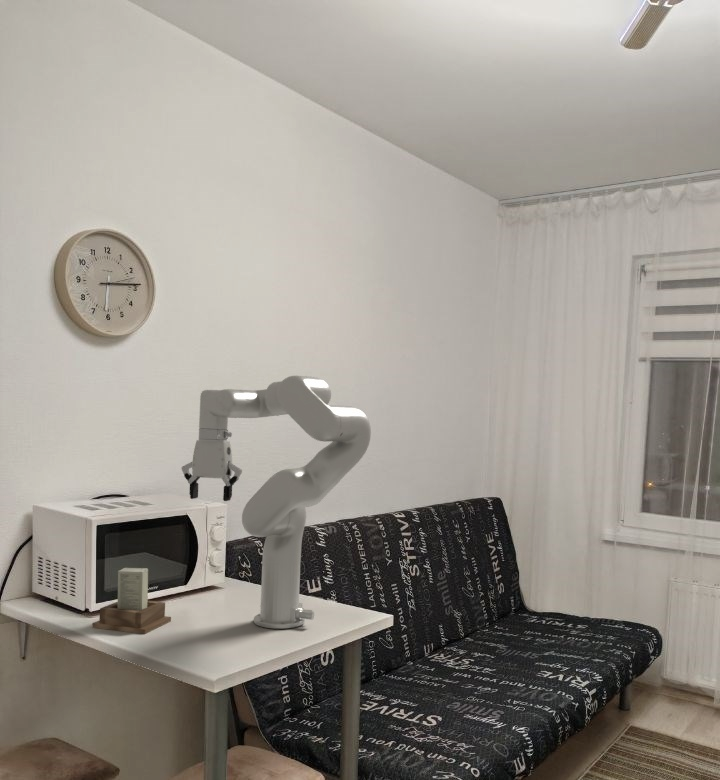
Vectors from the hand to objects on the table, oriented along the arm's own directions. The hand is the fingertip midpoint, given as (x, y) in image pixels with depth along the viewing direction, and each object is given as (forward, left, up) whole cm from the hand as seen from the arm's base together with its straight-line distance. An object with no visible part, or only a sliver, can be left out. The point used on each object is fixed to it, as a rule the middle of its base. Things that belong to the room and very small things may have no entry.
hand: (210, 499), depth 208 cm
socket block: (+8, +23, -28) cm, 37 cm away
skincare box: (+8, +23, -28) cm, 37 cm away
